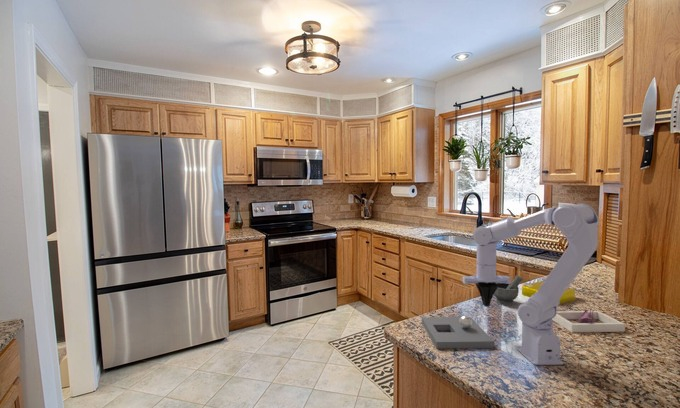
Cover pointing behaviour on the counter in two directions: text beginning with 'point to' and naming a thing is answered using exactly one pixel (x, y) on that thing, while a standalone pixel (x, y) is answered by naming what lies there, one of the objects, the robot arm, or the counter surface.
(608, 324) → the vegetable tray
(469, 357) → the counter surface
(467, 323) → the steel ball
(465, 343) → the hole board
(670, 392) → the counter surface
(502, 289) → the mortar and pestle
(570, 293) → the element tile
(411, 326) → the counter surface
